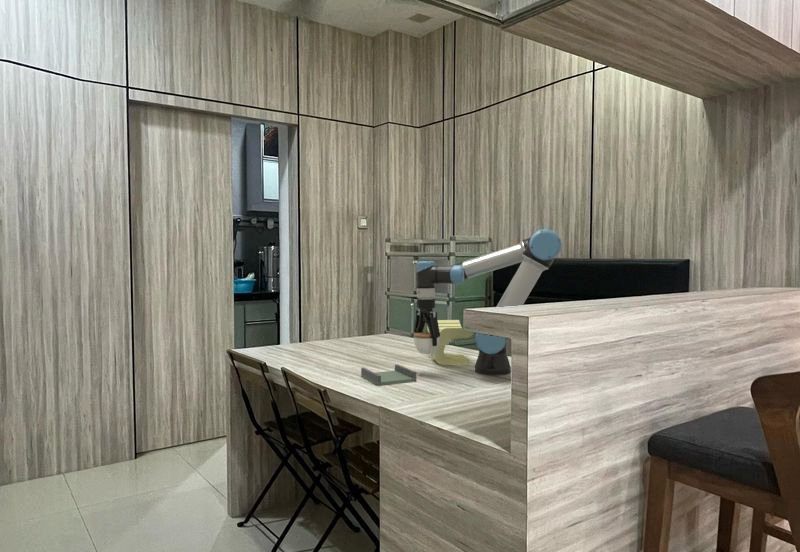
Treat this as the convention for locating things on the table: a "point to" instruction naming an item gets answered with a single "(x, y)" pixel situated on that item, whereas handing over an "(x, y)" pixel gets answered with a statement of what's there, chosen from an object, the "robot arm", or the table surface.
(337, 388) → the table surface
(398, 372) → the tray
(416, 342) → the lidded jar
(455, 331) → the slatted curved stool
